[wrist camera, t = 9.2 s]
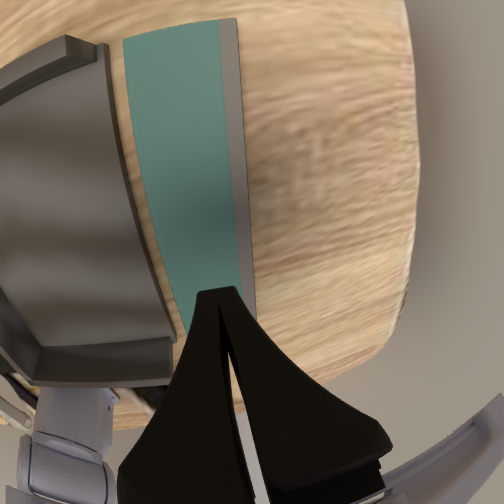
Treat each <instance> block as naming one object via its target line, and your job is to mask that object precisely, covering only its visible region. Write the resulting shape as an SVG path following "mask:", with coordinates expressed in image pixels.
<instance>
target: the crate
mask: <svg viewBox="0 0 504 504" xmlns="http://www.w3.org/2000/svg"><path fill="white" fill-rule="evenodd" d="M172 343H177V333H176V331H175V328H174V326H173V323H172V320H171V318H170V315H169V312H168V310H167V307H166V304H165V302H164V299H163V296H162V293H161V290H160V287H159V285H158V282H157V279H156V276H155V273H154V270H153V267H152V263H151V260H150V257H149V254H148V251H147V247H146V244H145V241H144V237H143V234H142V230H141V227H140V223H139V220H138V216H137V212H136V208H135V204H134V200H133V196H132V192H131V188H130V184H129V180H128V175H127V171H126V166H125V161H124V156H123V151H122V146H121V141H120V136H119V130H118V124H117V118H116V111H115V104H114V97H113V89H112V81H111V71H110V60H109V47H108V45H107V44H104V43H101V44H98V45H94V44H91V43H89V42H86V41H83V40H81V39H78V38H75V37H72V36H69V35H66V34H65V35H62V36H60V37H58V38H56V39H53V40H51V41H49V42H47V43H45V44H43V45H41V46H39V47H37V48H35V49H33V50H31V51H30V52H28V53H26V54H24V55H22V56H21V57H19V58H17V59H16V60H14V61H12V62H11V63H9V64H7V65H6V66H4V67H3V68H1V69H0V354H1V355H2V356H3V357H4V358H5V359H6V360H7V361H8V363H9V364H10V365H11V366H12V367H13V368H14V369H15V370H16V371H17V372H18V373H19V374H20V375H21V376H22V377H23V378H24V379H25V380H26V381H27V382H28V383H29V384H30V385H31V386H41V387H57V388H128V387H145V386H158V385H168V384H170V381H171V379H172V377H173V346H172Z"/></svg>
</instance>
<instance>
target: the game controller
mask: <svg viewBox="0 0 504 504" xmlns="http://www.w3.org/2000/svg"><path fill="white" fill-rule="evenodd" d="M0 415H1V416H3V417H4V418H5V420H6V421H7V422H8V424H7V425H8V426H10V427H11V425H13V426H15V427H17V428H20V429H22V430H25V431H29V430H30V429H31V427H32V420H31V418H30V417H29V416H28V415H27V414H26V413H24V412H22V411H20V410H18V409H17V408H15V407H14V406H13V405H11V404H10V403H9V402H7V401H6V400H5V399H3V398H2V397H1V396H0Z"/></svg>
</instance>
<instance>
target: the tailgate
mask: <svg viewBox="0 0 504 504" xmlns="http://www.w3.org/2000/svg"><path fill="white" fill-rule="evenodd" d="M123 51H124V63H125V73H126V83H127V91H128V99H129V106H130V113H131V120H132V126H133V133H134V138H135V144H136V150H137V155H138V160H139V165H140V170H141V175H142V180H143V185H144V189H145V194H146V198H147V202H148V206H149V211H150V215H151V219H152V223H153V227H154V230H155V234H156V238H157V242H158V245H159V249H160V252H161V256H162V259H163V263H164V266H165V270H166V273H167V276H168V280H169V283H170V286H171V289H172V292H173V295H174V298H175V302H176V305H177V308H178V311H179V313H180V316H181V319H182V322H183V325H184V328H185V331H186V333H187V336H188V332H189V329H190V325H191V322H192V318H193V313H194V309H195V303H196V295H197V293H198V292H199V291H202V290H209V289H215V288H221V287H227V286H235V287H236V288H237V290H238V293H239V295H240V296H241V298H242V300H243V302H244V303H245V305H246V307H247V308H248V310H249V311H250V313H251V314H252V316H253V317H254V318H255V320H256V321H257V316H256V301H255V286H254V271H253V256H252V241H251V225H250V210H249V195H248V180H247V165H246V150H245V135H244V120H243V105H242V90H241V75H240V60H239V45H238V30H237V20H236V18H228V19H219V20H211V21H203V22H197V23H190V24H185V25H179V26H174V27H169V28H165V29H160V30H156V31H152V32H148V33H144V34H140V35H137V36H133V37H130V38H127V39H123Z"/></svg>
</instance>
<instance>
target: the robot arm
mask: <svg viewBox="0 0 504 504" xmlns="http://www.w3.org/2000/svg"><path fill="white" fill-rule="evenodd" d="M228 353H229V356H230V359H231V362H232V366H233V369H234V372H235V375H236V378H237V382H238V385H239V388H240V391H241V394H242V397H243V400H244V404H245V407H246V411H247V415H248V419H249V423H250V428H251V432H252V436H253V440H254V444H255V448H256V452H257V456H258V460H259V464H260V468H261V472H262V476H263V480H264V483H265V487H266V491H267V494H268V498H269V502H270V504H359V503H361V502H363V501H366V500H368V499H370V498H372V497H374V496H377V495H378V494H381V493H383V492H385V493H384V496H383V497H380V498H377V499H374V500H371V501H369V502H367V503H364V504H467V503H468V502H469V501H470V500H471V499H472V497H473V496H474V495H475V494H476V493H477V492H478V491H479V489H480V488H481V487H482V486H483V485H484V484H485V482H486V481H487V480H488V479H489V477H490V476H491V475H492V474H493V472H494V471H495V470H496V469H497V467H498V466H499V465H500V463H501V462H502V461H503V460H504V397H503V395H502V393H499V394H498V395H497V396H496V397H495V398H494V399H493V400H491V401H490V402H489V403H488V404H487V405H486V406H485V407H484V408H482V409H481V410H480V411H479V412H478V413H476V414H475V415H474V416H472V417H471V418H470V419H469V420H467V421H466V422H465V423H464V424H462V425H461V426H460V427H458V428H457V429H456V430H454V431H453V433H451V434H450V435H449V436H447V437H446V438H444V439H443V440H441V441H440V442H439V443H437V444H436V445H434V446H433V447H431V448H430V449H428V450H426V451H425V452H423V453H421V454H420V455H418V456H417V457H415V458H413V459H412V460H410V461H408V462H406V463H404V464H403V465H401V466H399V467H397V468H395V469H393V470H391V471H389V472H387V473H385V474H383V475H381V474H380V472H379V469H381V465H380V462H379V460H378V459H379V458H381V457H382V456H384V455H385V454H387V453H388V452H390V451H391V450H392V448H393V445H392V443H391V441H390V438H389V436H388V435H387V433H386V432H385V430H384V429H383V428H382V426H381V425H380V424H379V422H378V421H377V420H375V419H373V418H371V417H370V416H368V415H366V414H364V413H362V412H360V411H359V410H357V409H355V408H354V407H352V406H350V405H349V404H347V403H345V402H344V401H342V400H341V399H339V398H337V397H336V396H335V395H333V394H332V393H330V392H329V391H328V390H326V389H325V388H324V387H322V386H321V385H320V384H318V383H317V382H316V381H314V380H313V379H312V378H311V377H309V376H308V375H307V374H306V373H305V372H303V371H302V370H301V369H300V368H299V367H298V366H297V365H296V364H295V363H293V362H292V361H291V360H290V359H289V358H288V357H287V356H286V355H285V354H284V353H283V352H282V351H281V350H280V349H279V348H278V346H277V345H276V344H275V343H274V342H273V341H272V340H271V339H270V337H269V336H268V335H267V334H266V333H265V331H264V330H263V329H262V328H261V326H260V325H259V324H258V322H257V321H256V320H255V318H254V317H253V316H252V314H251V313H250V311H249V310H248V308H247V307H246V305H245V303H244V302H243V300H242V298H241V296H240V295H239V293H238V290H237V288H236V287H235V286H227V287H221V288H215V289H209V290H202V291H199V292H198V293H197V295H196V303H195V309H194V313H193V318H192V322H191V325H190V329H189V332H188V336H187V339H186V342H185V345H184V348H183V351H182V354H181V357H180V359H179V362H178V365H177V367H176V370H175V372H174V375H173V377H172V379H171V381H170V384H169V386H168V388H167V390H166V392H165V394H164V396H163V398H162V400H161V402H160V404H159V406H158V408H157V410H156V412H155V413H154V415H153V417H152V418H151V420H150V422H149V423H148V425H147V427H146V428H145V430H144V432H143V433H142V435H141V437H140V438H139V440H138V441H137V443H136V444H135V445H134V447H133V448H132V449H131V451H130V452H129V454H128V455H127V456H126V458H125V459H124V460H123V462H122V463H121V465H120V466H119V469H118V476H117V498H118V504H255V500H254V499H255V494H254V490H253V486H252V482H251V479H250V475H249V472H248V467H247V463H246V459H245V455H244V451H243V447H242V443H241V439H240V435H239V430H238V425H237V421H236V417H235V412H234V406H233V398H232V389H231V379H230V369H229V359H228ZM119 402H120V399H119V398H118V396H117V395H116V394H115V393H114V392H113V391H112V390H111V389H110V388H57V387H41V388H40V393H39V398H38V403H37V408H36V414H35V420H34V427H33V433H32V435H31V437H30V435H28V434H25V435H24V436H21V437H20V443H19V451H18V461H17V482H18V489H15V488H13V487H11V486H8V485H6V504H62V503H58V502H55V501H52V500H49V499H46V498H43V497H40V496H38V495H36V494H35V493H38V494H40V495H43V496H46V497H49V498H53V499H56V500H59V501H62V502H66V503H70V504H114V503H115V500H116V482H115V478H114V474H113V472H112V470H111V468H110V467H109V465H108V464H107V463H106V462H104V461H103V456H105V455H106V454H107V453H108V452H109V450H110V448H111V445H112V428H113V406H114V403H119ZM33 492H35V493H33Z"/></svg>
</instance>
